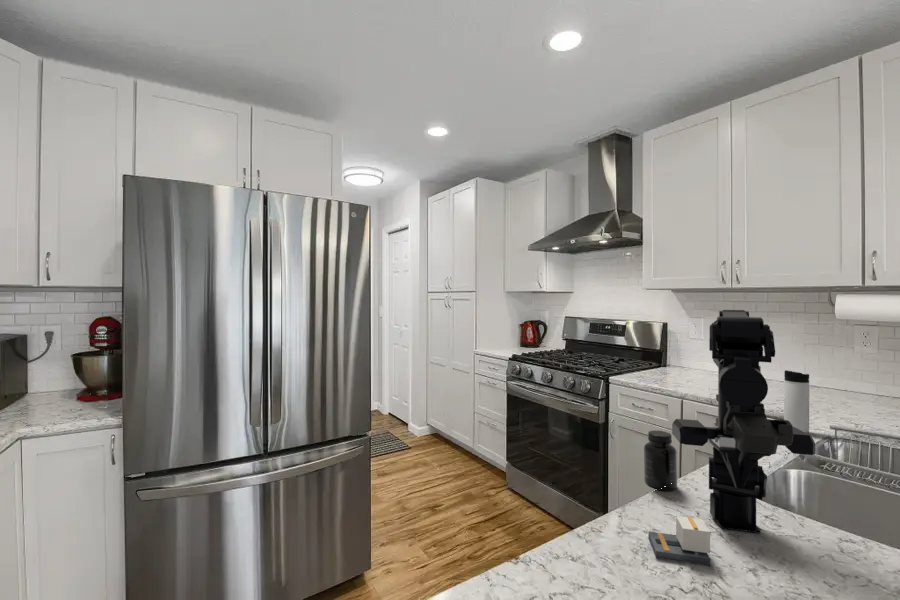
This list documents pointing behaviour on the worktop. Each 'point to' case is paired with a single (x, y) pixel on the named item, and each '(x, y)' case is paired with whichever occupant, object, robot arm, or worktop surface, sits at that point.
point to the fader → (693, 534)
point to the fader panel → (675, 550)
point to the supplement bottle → (660, 461)
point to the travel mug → (797, 400)
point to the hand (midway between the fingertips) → (738, 487)
